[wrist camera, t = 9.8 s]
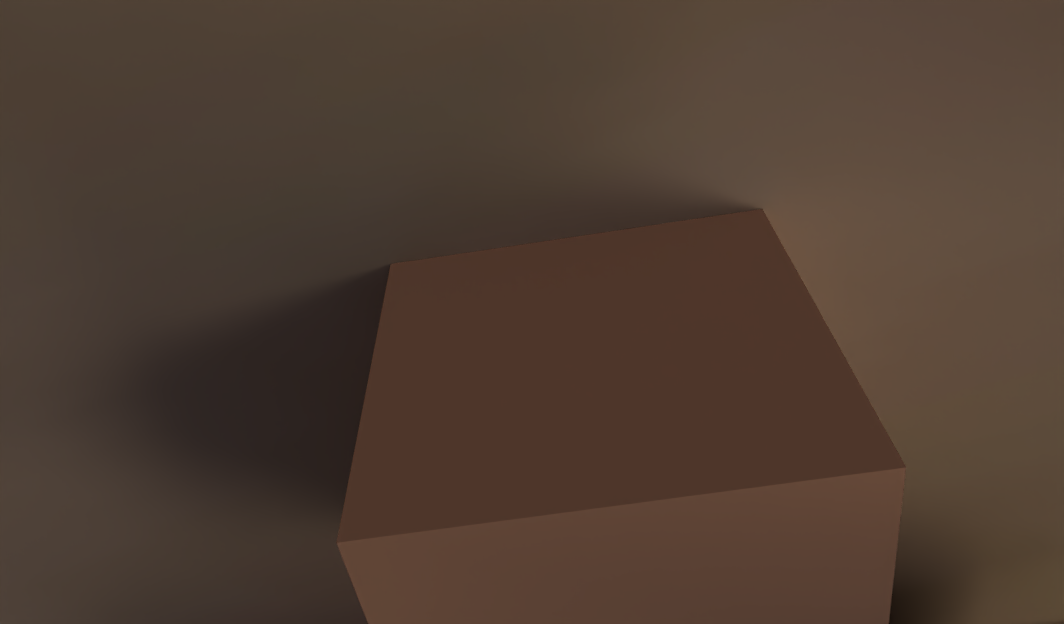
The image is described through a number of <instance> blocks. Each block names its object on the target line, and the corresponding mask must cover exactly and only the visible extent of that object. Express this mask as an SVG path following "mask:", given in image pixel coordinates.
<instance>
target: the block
mask: <svg viewBox="0 0 1064 624" xmlns="http://www.w3.org/2000/svg"><path fill="white" fill-rule="evenodd" d="M905 474H906V466H905V464H904V463H903V461H902V459H901V457H900V455H899V454H898V452H897V450H896V448H895V446H894V445H893V443H892V441H891V439H890V437H889V436H888V434H887V432H886V430H885V429H884V427H883V425H882V423H881V421H880V420H879V418H878V416H877V414H876V412H875V411H874V409H873V407H872V405H871V403H870V402H869V400H868V398H867V396H866V394H865V393H864V391H863V389H862V387H861V385H860V384H859V382H858V380H857V378H856V376H855V375H854V373H853V371H852V369H851V367H850V366H849V364H848V362H847V360H846V358H845V357H844V355H843V353H842V351H841V350H840V348H839V346H838V344H837V342H836V341H835V339H834V337H833V335H832V333H831V332H830V330H829V328H828V326H827V324H826V323H825V321H824V319H823V317H822V315H821V314H820V312H819V310H818V308H817V306H816V305H815V303H814V301H813V299H812V297H811V296H810V294H809V292H808V290H807V288H806V287H805V285H804V283H803V281H802V279H801V278H800V276H799V274H798V272H797V270H796V269H795V267H794V265H793V263H792V262H791V260H790V258H789V256H788V254H787V253H786V251H785V249H784V247H783V245H782V244H781V242H780V240H779V238H778V236H777V235H776V233H775V231H774V229H773V227H772V226H771V224H770V222H769V220H768V218H767V217H766V215H765V213H764V211H763V209H758V210H751V211H745V212H738V213H731V214H724V215H718V216H711V217H704V218H697V219H691V220H684V221H677V222H670V223H664V224H657V225H650V226H643V227H637V228H630V229H623V230H616V231H610V232H603V233H596V234H589V235H583V236H576V237H569V238H562V239H556V240H549V241H542V242H535V243H529V244H522V245H515V246H508V247H502V248H495V249H488V250H481V251H475V252H468V253H461V254H454V255H448V256H441V257H434V258H427V259H421V260H414V261H407V262H400V263H393V264H391V265H390V270H389V275H388V280H387V285H386V291H385V296H384V301H383V306H382V311H381V316H380V321H379V327H378V332H377V337H376V342H375V347H374V352H373V357H372V363H371V368H370V373H369V378H368V383H367V388H366V393H365V398H364V404H363V409H362V414H361V419H360V424H359V429H358V434H357V440H356V445H355V450H354V455H353V460H352V465H351V470H350V476H349V481H348V486H347V491H346V496H345V501H344V506H343V512H342V517H341V522H340V527H339V532H338V537H337V542H336V543H337V546H338V548H339V551H340V553H341V556H342V558H343V561H344V563H345V566H346V568H347V571H348V574H349V576H350V579H351V581H352V584H353V586H354V589H355V591H356V594H357V597H358V599H359V602H360V604H361V607H362V609H363V612H364V614H365V617H366V619H367V622H368V624H889V616H890V608H891V599H892V590H893V581H894V572H895V563H896V554H897V545H898V536H899V527H900V518H901V509H902V500H903V491H904V482H905Z"/></svg>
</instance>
